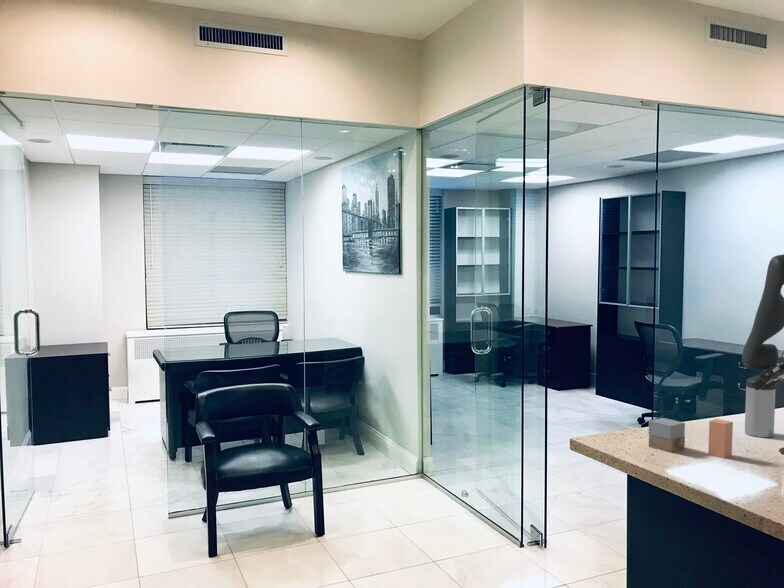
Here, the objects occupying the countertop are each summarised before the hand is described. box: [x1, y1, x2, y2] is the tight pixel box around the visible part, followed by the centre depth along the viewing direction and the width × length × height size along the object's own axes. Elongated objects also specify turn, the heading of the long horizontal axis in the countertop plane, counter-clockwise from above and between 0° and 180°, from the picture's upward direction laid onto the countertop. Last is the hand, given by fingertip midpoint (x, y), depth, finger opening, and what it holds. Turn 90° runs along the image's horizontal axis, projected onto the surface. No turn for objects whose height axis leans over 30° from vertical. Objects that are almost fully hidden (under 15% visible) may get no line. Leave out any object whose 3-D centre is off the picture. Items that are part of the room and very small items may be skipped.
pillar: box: [707, 418, 734, 459], centre depth 202 cm, size 5×5×11 cm
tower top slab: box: [648, 417, 686, 440], centre depth 210 cm, size 8×8×4 cm
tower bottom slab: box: [648, 433, 686, 454], centre depth 210 cm, size 8×8×4 cm
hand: (761, 386), depth 192 cm, fingers open, 8 cm apart
